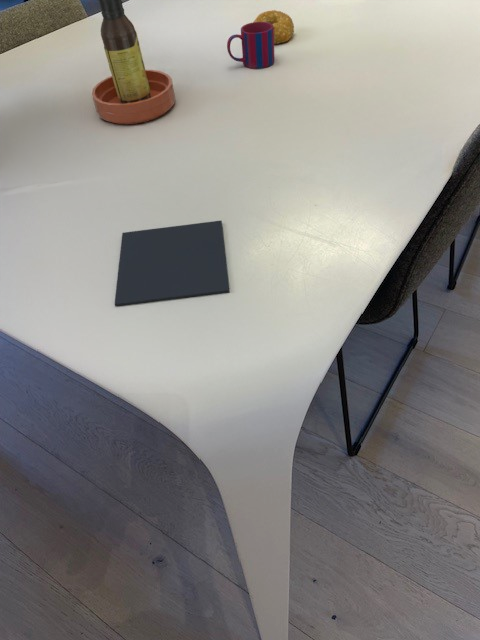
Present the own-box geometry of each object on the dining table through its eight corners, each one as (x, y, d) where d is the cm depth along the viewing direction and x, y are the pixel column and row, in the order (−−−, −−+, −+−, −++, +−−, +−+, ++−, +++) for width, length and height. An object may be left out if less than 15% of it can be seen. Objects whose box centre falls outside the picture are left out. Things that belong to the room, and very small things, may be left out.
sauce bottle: (158, 102, 95) (133, -19, 80) (133, 114, 92) (102, -8, 78) (138, 94, 98) (111, -24, 84) (113, 106, 96) (80, -14, 81)
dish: (94, 130, 91) (87, 109, 88) (102, 95, 101) (96, 75, 98) (175, 120, 91) (171, 98, 88) (175, 86, 101) (171, 65, 98)
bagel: (239, 41, 114) (237, 18, 111) (273, 27, 119) (272, 4, 115) (268, 51, 109) (267, 27, 106) (303, 36, 113) (303, 12, 110)
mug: (278, 65, 103) (277, 29, 98) (232, 74, 103) (229, 38, 97) (269, 54, 108) (268, 19, 103) (225, 62, 107) (221, 27, 102)
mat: (115, 306, 60) (114, 304, 60) (123, 234, 69) (122, 232, 69) (229, 292, 60) (229, 289, 59) (221, 222, 69) (221, 220, 69)
